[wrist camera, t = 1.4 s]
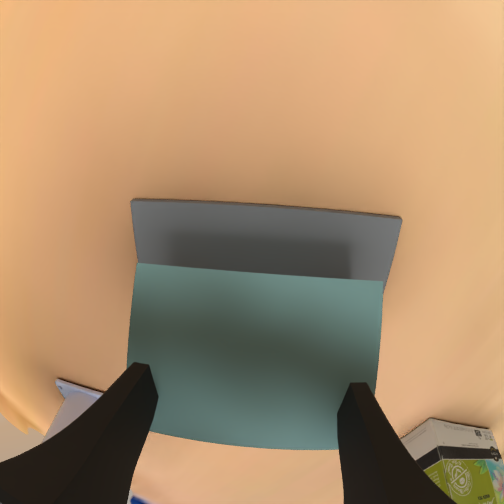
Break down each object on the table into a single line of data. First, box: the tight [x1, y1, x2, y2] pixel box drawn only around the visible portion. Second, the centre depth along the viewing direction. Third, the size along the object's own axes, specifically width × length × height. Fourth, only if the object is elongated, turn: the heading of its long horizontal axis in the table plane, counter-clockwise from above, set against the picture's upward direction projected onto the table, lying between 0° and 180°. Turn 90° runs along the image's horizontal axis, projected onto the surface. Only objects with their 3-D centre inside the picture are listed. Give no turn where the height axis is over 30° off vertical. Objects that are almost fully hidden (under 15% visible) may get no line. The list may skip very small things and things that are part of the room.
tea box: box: [400, 418, 504, 504], centre depth 20 cm, size 15×10×15 cm, turn 64°
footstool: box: [127, 263, 383, 450], centre depth 14 cm, size 7×10×5 cm
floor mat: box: [130, 199, 402, 293], centre depth 19 cm, size 16×14×1 cm
